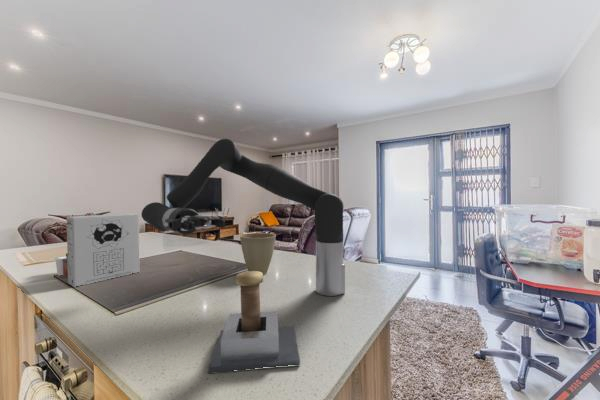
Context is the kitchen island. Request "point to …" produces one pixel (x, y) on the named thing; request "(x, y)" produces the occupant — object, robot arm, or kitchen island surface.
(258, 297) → the walnut pin
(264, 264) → the plant pot
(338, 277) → the robot arm
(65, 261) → the lighter
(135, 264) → the cereal box
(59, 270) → the shot glass
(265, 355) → the steel receiver
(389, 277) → the kitchen island surface
